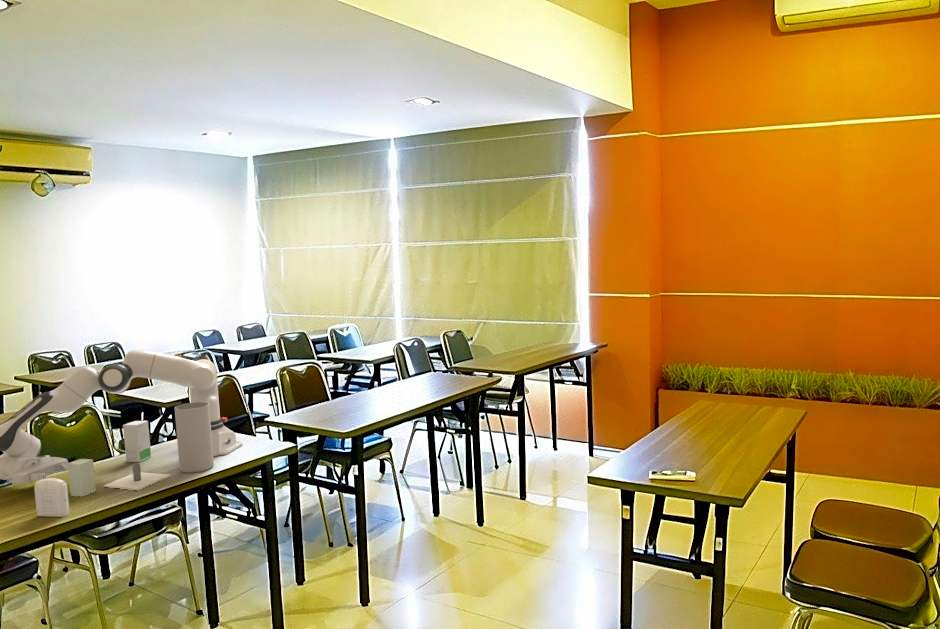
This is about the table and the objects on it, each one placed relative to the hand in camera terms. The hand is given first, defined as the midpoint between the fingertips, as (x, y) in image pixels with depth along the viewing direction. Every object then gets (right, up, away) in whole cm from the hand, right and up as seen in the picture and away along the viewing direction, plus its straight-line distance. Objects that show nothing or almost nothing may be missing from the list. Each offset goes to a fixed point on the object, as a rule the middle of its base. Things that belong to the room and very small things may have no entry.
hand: (55, 472), depth 263 cm
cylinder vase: (+43, -3, +21) cm, 48 cm away
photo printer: (+13, -9, -24) cm, 29 cm away
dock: (+26, -5, +7) cm, 28 cm away
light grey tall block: (+12, -7, -3) cm, 14 cm away
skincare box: (+13, -3, +38) cm, 40 cm away
